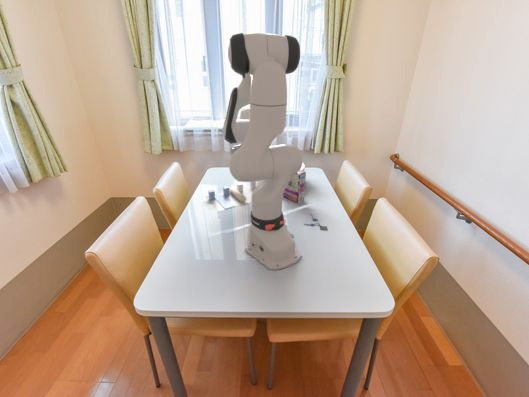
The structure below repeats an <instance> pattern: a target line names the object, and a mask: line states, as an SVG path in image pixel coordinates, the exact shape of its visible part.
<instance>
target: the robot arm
mask: <svg viewBox="0 0 529 397" xmlns="http://www.w3.org/2000/svg"><path fill="white" fill-rule="evenodd" d="M226 48H227V49H226V57H227V60H228V61H227V62H228V63H229V65H230V68H231V70H232V71H233V72H235V73H236V74H238V75H240V76H241V79H240V81H238V82H239V83H237V86H234V88H232V90H231V92H230V96H229V100H228V106H227V111H226V114H225V115H226V116H225V120H224V122H223V127H222V136H223V138H224V140H225V141H226V142H227V143H229V144H231V145H232V144H238V143H240V144H238V145H233V146H232V147H231V148H230V158H229V162H228V169H229V172H230V174H231V176H232V178H233V179H234V180H235V181H237V182H240V183H250V182H254V181H260V180H264V181H263V182H262V183H261V184H260V185H259V186H258V185H257V186H256V188H255V189H254V191H253V193H252V196H251V201H252V202H251V210H250V222H251V224H250V226H249V229H248V232H247V244H246V245H245V247H244V251H245V252H246V253H247V254H248V255H250V256H251V257H252V258H254V259H255V260H257V261H258V262H260V264H262V265H264V267H266V268H267V269H269V271H270V270H271V271H276V270H282V269H285V268H288V267H291V266H292V265H295V263H298V262H299V261H300V259H301V258H302V253H301V251H300V250H299V249H298V248H297V247H296V243H295V239H294V238H295V234H294V233H293V232H290V231H289V229H288V225H286V224H285V223H286V219H284V217H285V216H284V212H283V210H282V208H283V199H284V196H283V194H284V190H285V188H286V186H287V184H288V182H289V181H290V179H291V178H292V177H293V176H294V175H295V174H296V173H297V172H298V171H299V170H300V169H301V167H302V164H303V163H304V157H303V153H302V151H301V150H300V148H299V147H298V146H297V145H294V144H286V143H284V144H282V143H281V144H273V145H271V144H272V143H273V141H274V140H275V139H276V138H278V137H279V136H280V135H281V134H282V133H284V131H285V129H286V124H287V105H288V84H287V75H288V74H291V73H294V72H295V71H296V70H297V69H298V67H299V65H300V60H301V46H300V43H299V41H298V39H297V38H296V37H294V36H292V35H288V34H285V35H281V34H275V33H265V32H251V33H243V32H240V33H235V34H233V35H232V36H231V37H230V38H229V42H228V45H227V47H226ZM248 105H249V108H243V107H246V106H248ZM239 112H240V116H239ZM238 116H239V119H238Z"/></svg>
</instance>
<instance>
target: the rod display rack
mask: <svg viewBox="0 0 529 397" xmlns="http://www.w3.org/2000/svg"><path fill="white" fill-rule="evenodd" d="M229 187H230V186H223V187H222V192H218V193H215V190H214V189H210V190H208V195H207V196H205V198H206V199H207V200H208V202H209V203H210V204H211V205H213V207H214V208H215V209H216V210H217V211H218V212H223V211H225V210H229V209H233V208H236V207H241V206H244V205H247V204H252V201H251V196H252V193H253V191H254V189H255V188H256V187H257V184H256V181H254V182H249V185H245V186H244V184H243V182H240V183H237V184H236V188H235V189H236V190H238V191H239V192H240V193H241V194H242V195H244V196H245V197H246V201H245V202H241V201H240V200H238V199H237V198H236V197H235V196H234V195H233V194H232V193H231V192H230V191H229Z"/></svg>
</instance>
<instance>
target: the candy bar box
mask: <svg viewBox="0 0 529 397" xmlns="http://www.w3.org/2000/svg"><path fill="white" fill-rule="evenodd" d="M306 175H307V172H306V171H305V170H304V171H301V170H299V171H298V172H297V173H296V174H295V175H294V176H293V177H292V178H291V179H290V181H289V182H288V184H287V186H286V188H285V190H284V194H283V198H286V199H288V200H290V201H292V202H293V203H296V204H299V203H301V202H304V201H305V200H304V199H305V187H306Z"/></svg>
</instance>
